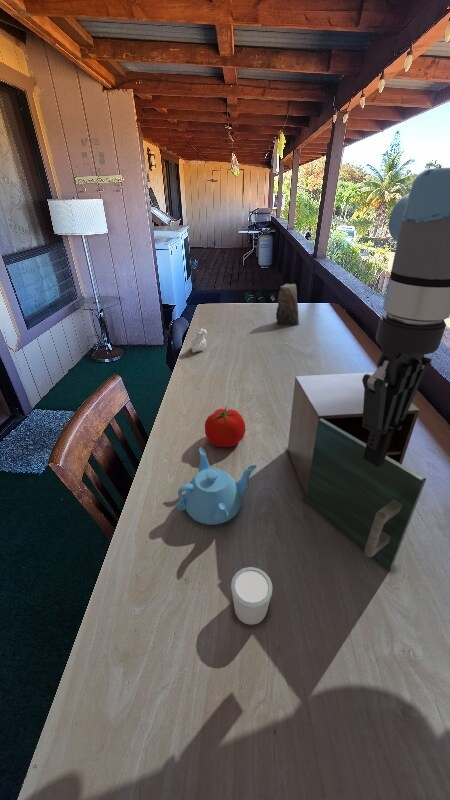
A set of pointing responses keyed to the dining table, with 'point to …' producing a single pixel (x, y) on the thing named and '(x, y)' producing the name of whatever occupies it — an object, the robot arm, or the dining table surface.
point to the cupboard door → (362, 493)
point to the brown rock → (287, 305)
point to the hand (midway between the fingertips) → (373, 460)
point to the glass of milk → (251, 594)
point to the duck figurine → (199, 341)
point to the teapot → (213, 493)
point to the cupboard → (335, 417)
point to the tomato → (224, 427)
